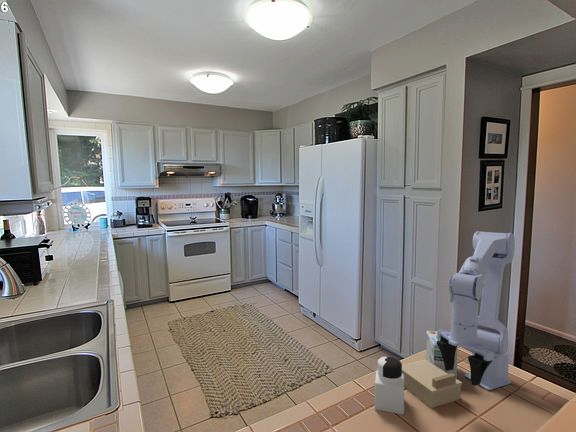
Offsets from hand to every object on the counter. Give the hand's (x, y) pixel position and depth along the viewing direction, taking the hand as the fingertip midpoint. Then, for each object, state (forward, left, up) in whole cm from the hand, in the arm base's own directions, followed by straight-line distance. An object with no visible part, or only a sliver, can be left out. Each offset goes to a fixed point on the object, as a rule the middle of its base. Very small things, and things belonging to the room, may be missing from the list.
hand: (461, 376), depth 80 cm
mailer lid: (0, -11, -6) cm, 13 cm away
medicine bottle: (+14, -10, -10) cm, 20 cm away
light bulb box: (-11, -17, -10) cm, 23 cm away
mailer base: (0, -11, -10) cm, 15 cm away
